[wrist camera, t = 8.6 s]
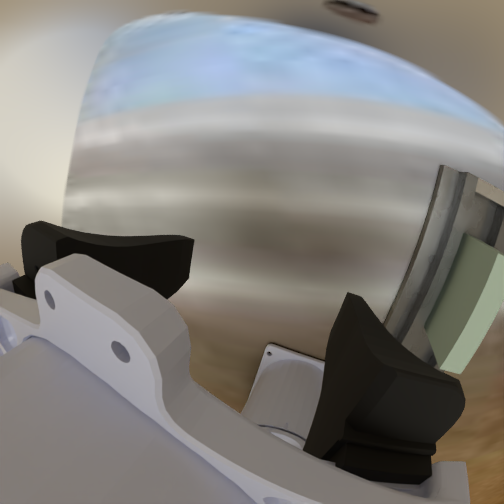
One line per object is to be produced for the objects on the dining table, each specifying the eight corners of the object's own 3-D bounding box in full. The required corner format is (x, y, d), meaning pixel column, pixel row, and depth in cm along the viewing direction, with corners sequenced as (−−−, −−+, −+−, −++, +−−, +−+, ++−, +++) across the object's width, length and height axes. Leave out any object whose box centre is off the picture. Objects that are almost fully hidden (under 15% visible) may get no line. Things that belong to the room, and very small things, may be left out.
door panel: (441, 329, 18) (460, 373, 13) (422, 323, 19) (439, 368, 13) (480, 240, 16) (518, 263, 10) (462, 231, 16) (498, 253, 11)
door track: (421, 394, 21) (424, 411, 19) (353, 377, 23) (352, 395, 21) (513, 203, 14) (528, 207, 12) (440, 165, 16) (451, 164, 14)
